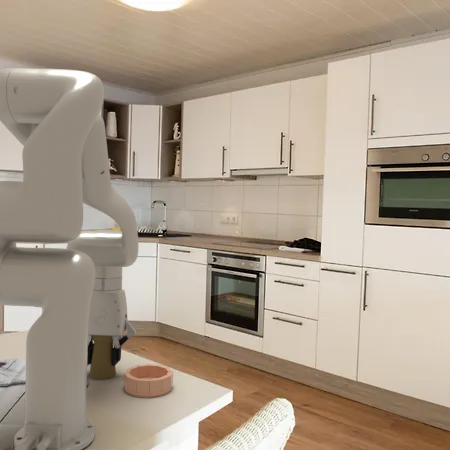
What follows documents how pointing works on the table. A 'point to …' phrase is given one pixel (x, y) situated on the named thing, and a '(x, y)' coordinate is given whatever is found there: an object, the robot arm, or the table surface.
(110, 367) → the cork
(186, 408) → the table surface
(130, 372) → the copper faceted bowl
